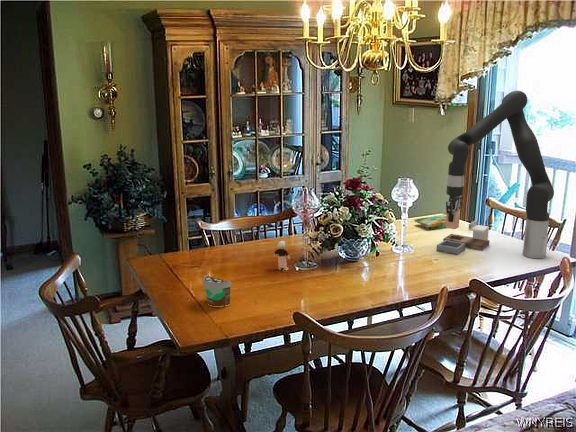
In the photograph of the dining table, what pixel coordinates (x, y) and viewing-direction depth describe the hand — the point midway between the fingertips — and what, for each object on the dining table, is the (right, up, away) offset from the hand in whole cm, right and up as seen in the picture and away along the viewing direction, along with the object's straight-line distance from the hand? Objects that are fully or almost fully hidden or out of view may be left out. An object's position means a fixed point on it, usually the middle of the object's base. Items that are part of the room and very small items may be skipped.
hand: (452, 220), depth 257 cm
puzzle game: (+4, -4, +43) cm, 44 cm away
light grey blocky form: (+14, -10, +8) cm, 19 cm away
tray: (0, -14, +3) cm, 15 cm away
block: (0, -3, +1) cm, 3 cm away
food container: (-103, -31, -54) cm, 120 cm away
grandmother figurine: (-79, -21, -18) cm, 84 cm away
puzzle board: (+10, -12, +12) cm, 20 cm away
